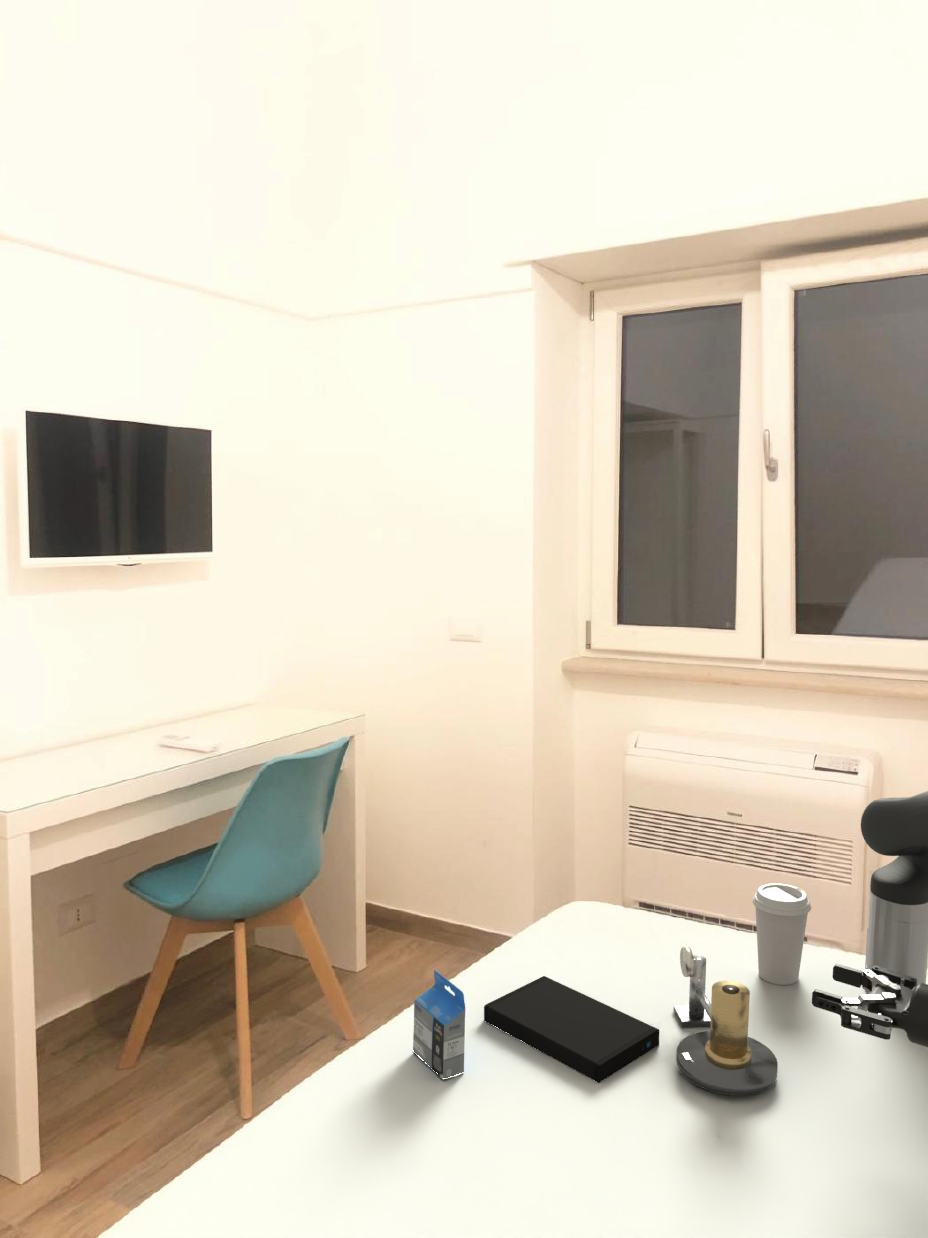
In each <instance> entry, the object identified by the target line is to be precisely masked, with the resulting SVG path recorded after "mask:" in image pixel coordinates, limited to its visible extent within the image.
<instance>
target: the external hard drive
mask: <svg viewBox="0 0 928 1238" xmlns="http://www.w3.org/2000/svg"><path fill="white" fill-rule="evenodd" d="M483 1021H484V1022H485V1021H486V1022H485V1023H486V1024H488V1023H489V1025H490V1024H492V1025H494V1026H496V1027H498V1028H499V1029H498V1028H497V1029H498V1030H500V1029H501V1030H502V1032H503V1031H504V1033H505V1032H507V1033H509V1034H510V1035H509V1034H508V1035H509V1036H511V1035H512V1036H511V1037H513V1038H514V1037H515V1039H516V1038H517V1039H516V1040H518V1039H519V1041H520V1040H522V1041H523V1042H522V1041H521V1042H522V1043H524V1042H525V1043H526V1045H527V1044H528V1045H527V1046H529V1045H530V1046H529V1047H532V1048H533V1047H534V1048H533V1049H535V1048H536V1049H535V1050H537V1049H538V1050H539V1052H540V1051H541V1052H540V1053H542V1054H544V1055H546V1056H548V1057H550V1058H551V1059H554V1060H555V1061H557V1062H559V1063H561V1064H563V1065H565V1066H566V1067H568V1068H569V1069H572V1070H574V1071H575V1070H576V1071H575V1072H578V1073H579V1074H581V1075H583V1076H585V1077H587V1078H588V1079H590V1080H592V1081H594V1082H596V1083H598V1084H600V1083H601V1082H603V1081H605V1080H606V1079H608V1078H610V1077H612V1076H613V1075H614V1074H616V1073H617V1072H619V1071H620V1070H623V1069H624V1068H625V1067H627V1066H630V1064H632V1063H633V1062H635V1061H637V1060H638V1059H640V1058H641V1057H643V1056H644V1055H647V1053H650V1052H651V1051H653V1050H654V1049H656V1048H657V1047H659V1046H660V1029H659V1028H657V1027H655V1026H653V1025H650V1024H648V1023H646V1022H644V1021H641V1020H639V1019H637V1018H636V1017H634V1016H631V1015H629V1014H627V1013H624V1012H623V1011H620V1010H619V1009H616V1008H614V1007H613V1006H610V1005H607V1004H605V1003H604V1002H602V1001H600V1000H597V999H595V998H593V997H591V996H588V995H587V994H584V993H582V992H579V991H577V990H575V989H573V988H571V987H569V986H567V985H565V984H563V983H560V982H558V981H556V980H554V979H552V978H549V977H548V976H545V975H543V976H541V977H539V978H537V979H534V980H533V981H531V982H528V983H527V984H525V985H522V986H521V987H520V986H519V987H518V988H516V989H514V990H512V991H511V992H508V993H506V994H504V995H502V996H500V997H498V998H496V999H494V1000H492V1001H490V1002H488V1003H486V1004H484V1005H483ZM492 1025H491V1026H492ZM494 1026H493V1027H494ZM496 1027H495V1028H496ZM501 1030H500V1031H501ZM507 1033H506V1034H507ZM525 1043H524V1044H525ZM538 1050H537V1051H538Z"/></svg>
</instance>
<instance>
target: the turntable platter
mask: <svg viewBox="0 0 928 1238" xmlns="http://www.w3.org/2000/svg"><path fill="white" fill-rule="evenodd" d="M709 1039H710V1030H705V1031H704V1030H703V1031H699V1032H694V1033H692V1034H690V1035H688V1036H686V1037H684V1038H683V1039H681V1040H680V1041H679V1043H678V1045H677V1047H676V1059H675V1060H676V1067H677V1069H678V1070H679V1072H680V1073H681V1074H682V1075H681V1076H683V1077H684V1078H685V1079H687V1080H688V1081H689V1082H691V1083H692V1084H694V1085H696V1086H697V1087H700V1088H702V1089H704V1090H707V1091H709V1092H714V1093H717V1094H722V1095H727V1096H750V1095H756V1094H759V1093H762V1092H765V1091H767V1090H769V1089H770V1088H771V1087H772V1086H773V1085H774V1084H775V1082H776V1081H777V1078H778V1069H779V1068H778V1065H779V1064H778V1058H777V1057H776V1054H775V1053H774V1052H773V1051H772V1050H771V1049H770V1048H769V1047H768V1046H766V1044H764V1043H763V1042H761V1041H759V1040H757V1039H755V1038H752V1037H750V1036H748V1043H747V1045H748V1046H749V1047H750V1049H751V1063H750V1064H749V1065H748V1066H747V1067H745V1068H742V1069H725V1068H721V1067H718V1066H716V1065H714V1064H712V1063H711V1062H709V1061H708V1060H707V1058H706V1056H705V1044H706V1042H707V1041H708V1040H709Z"/></svg>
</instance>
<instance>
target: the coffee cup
mask: <svg viewBox="0 0 928 1238" xmlns="http://www.w3.org/2000/svg"><path fill="white" fill-rule="evenodd" d="M807 894H808V893H807V892H805V891H804V889H802V888H800V887H797V886H794V885H792V884H791V885H790V884H786V883H778V882H777V883H773V882H772V883H767V884H762V885H761V886H758V888H757V891H756V892H755V894H754V895H753V897H752V904H753V905H754V908H755V922H756V923H755V924H756V926H755V927H756V943H757V944H756V945H757V959H758V960H757V963H758V964H757V965H758V975H759V977H760V978H761V979H762V980H764V981H765V982H768V983H770V984H774V985H779V986H789V985H793V984H796V983H797V982H798V981H799V977H800V969H801V961H802V957H803V955H802V954H803V948H804V942H805V933H806V927H807V922H808V921H807V920H808V913H810V912H811V910H812V904H811V901H810V899H809V897H808V895H807Z"/></svg>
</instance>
